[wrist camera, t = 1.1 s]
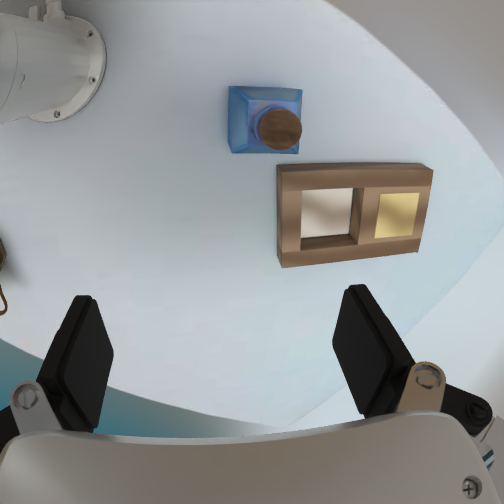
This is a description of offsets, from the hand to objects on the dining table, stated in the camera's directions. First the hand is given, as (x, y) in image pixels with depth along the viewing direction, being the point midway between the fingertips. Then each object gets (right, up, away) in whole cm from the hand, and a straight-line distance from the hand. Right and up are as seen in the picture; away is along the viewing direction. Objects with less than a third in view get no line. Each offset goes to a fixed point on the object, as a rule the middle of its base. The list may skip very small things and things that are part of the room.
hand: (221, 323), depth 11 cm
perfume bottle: (+2, +18, +21) cm, 27 cm away
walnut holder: (+14, +8, +28) cm, 32 cm away
